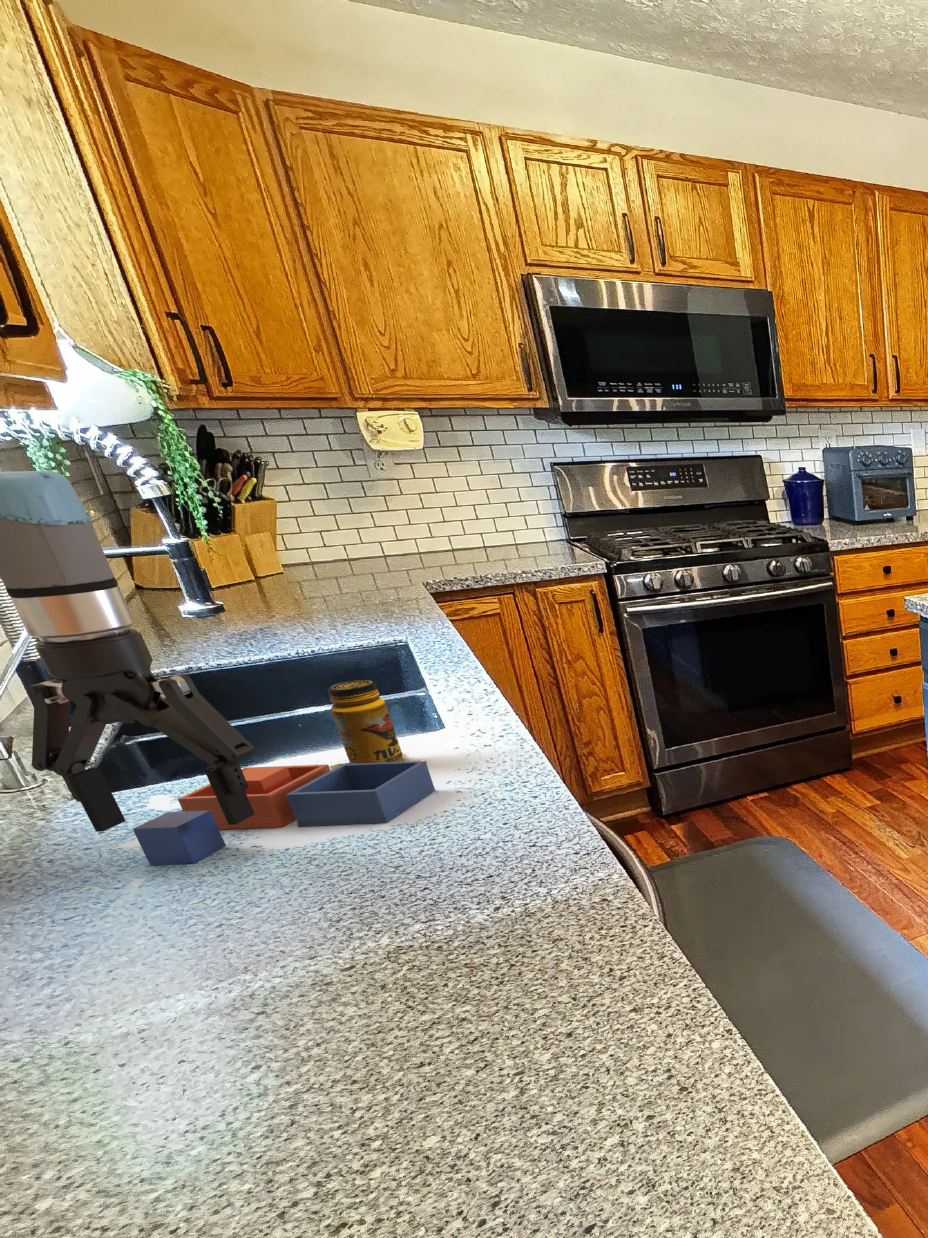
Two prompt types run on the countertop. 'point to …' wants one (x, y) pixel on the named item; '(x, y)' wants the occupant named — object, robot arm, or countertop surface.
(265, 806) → the terracotta bin
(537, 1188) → the countertop surface
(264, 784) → the terracotta block
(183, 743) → the robot arm
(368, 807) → the blue bin
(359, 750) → the condiment
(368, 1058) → the countertop surface
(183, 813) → the blue block
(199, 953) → the countertop surface
